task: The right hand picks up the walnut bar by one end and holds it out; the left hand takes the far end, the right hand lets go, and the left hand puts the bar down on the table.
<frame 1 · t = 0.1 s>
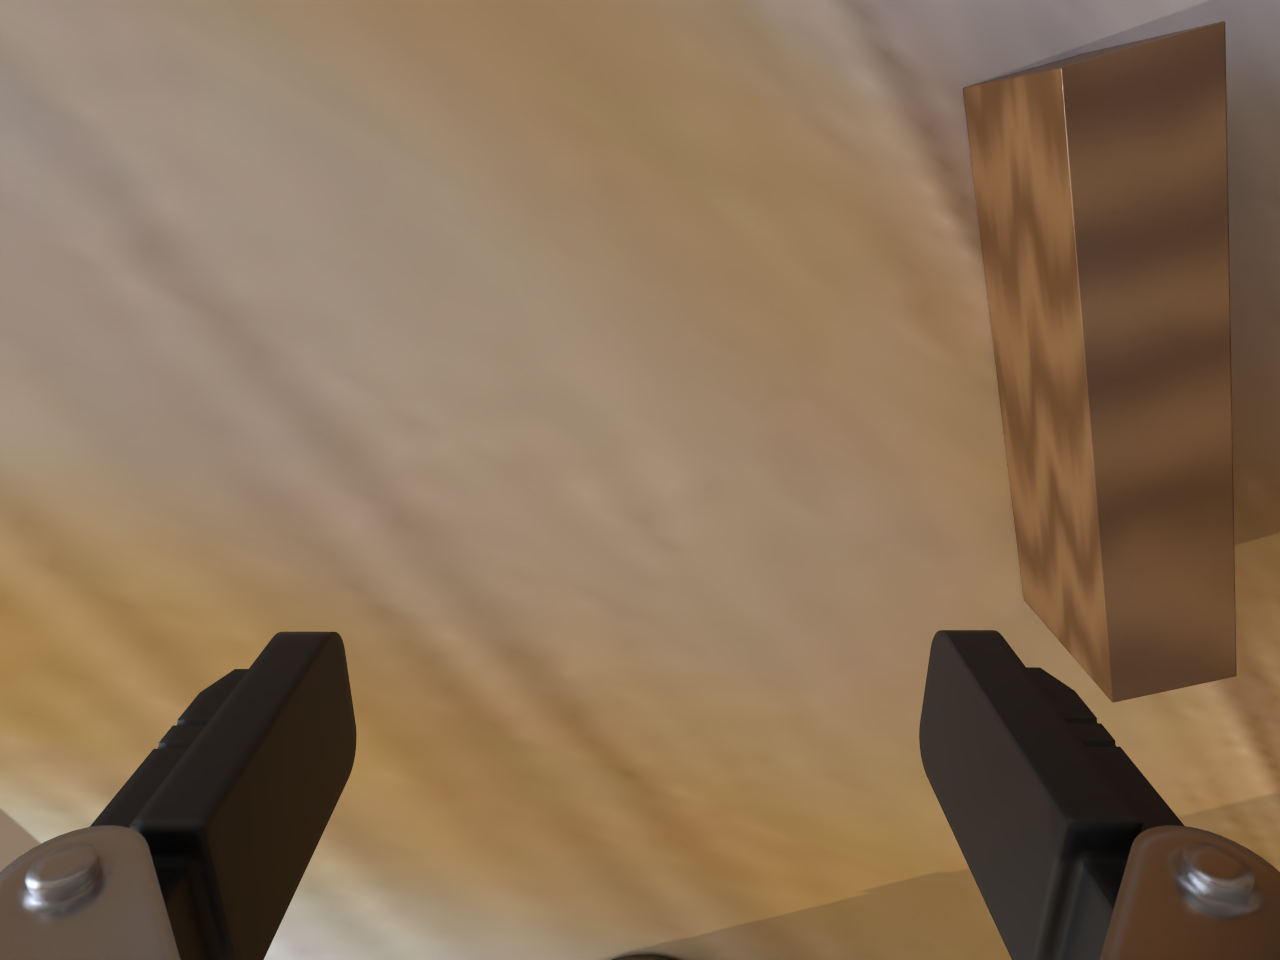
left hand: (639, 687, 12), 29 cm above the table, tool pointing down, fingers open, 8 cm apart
bar: (1051, 358, 40), on the table
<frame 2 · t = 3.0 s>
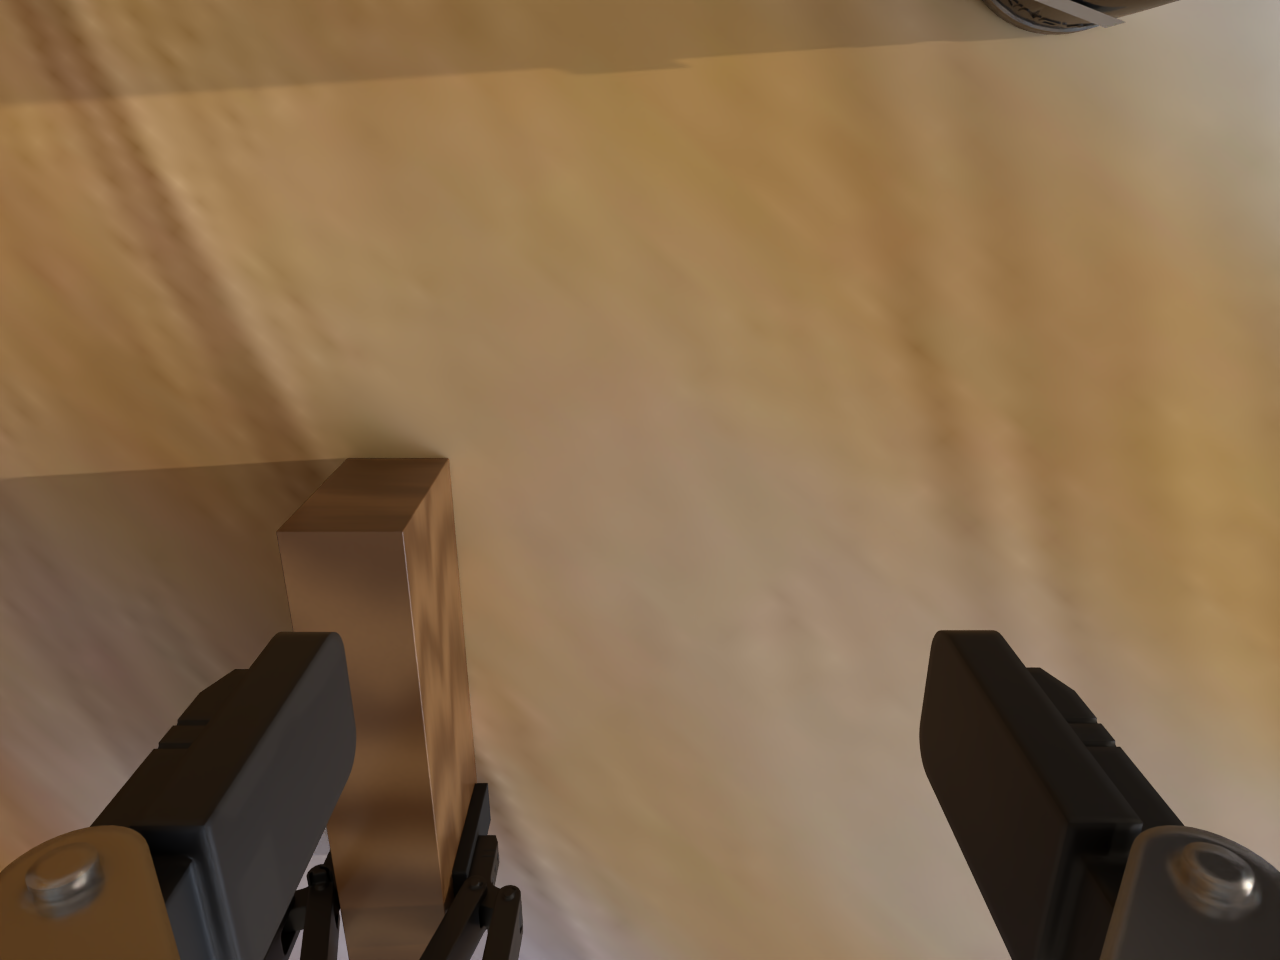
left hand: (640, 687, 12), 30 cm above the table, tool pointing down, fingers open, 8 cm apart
bar: (421, 671, 47), on the table, touching right hand
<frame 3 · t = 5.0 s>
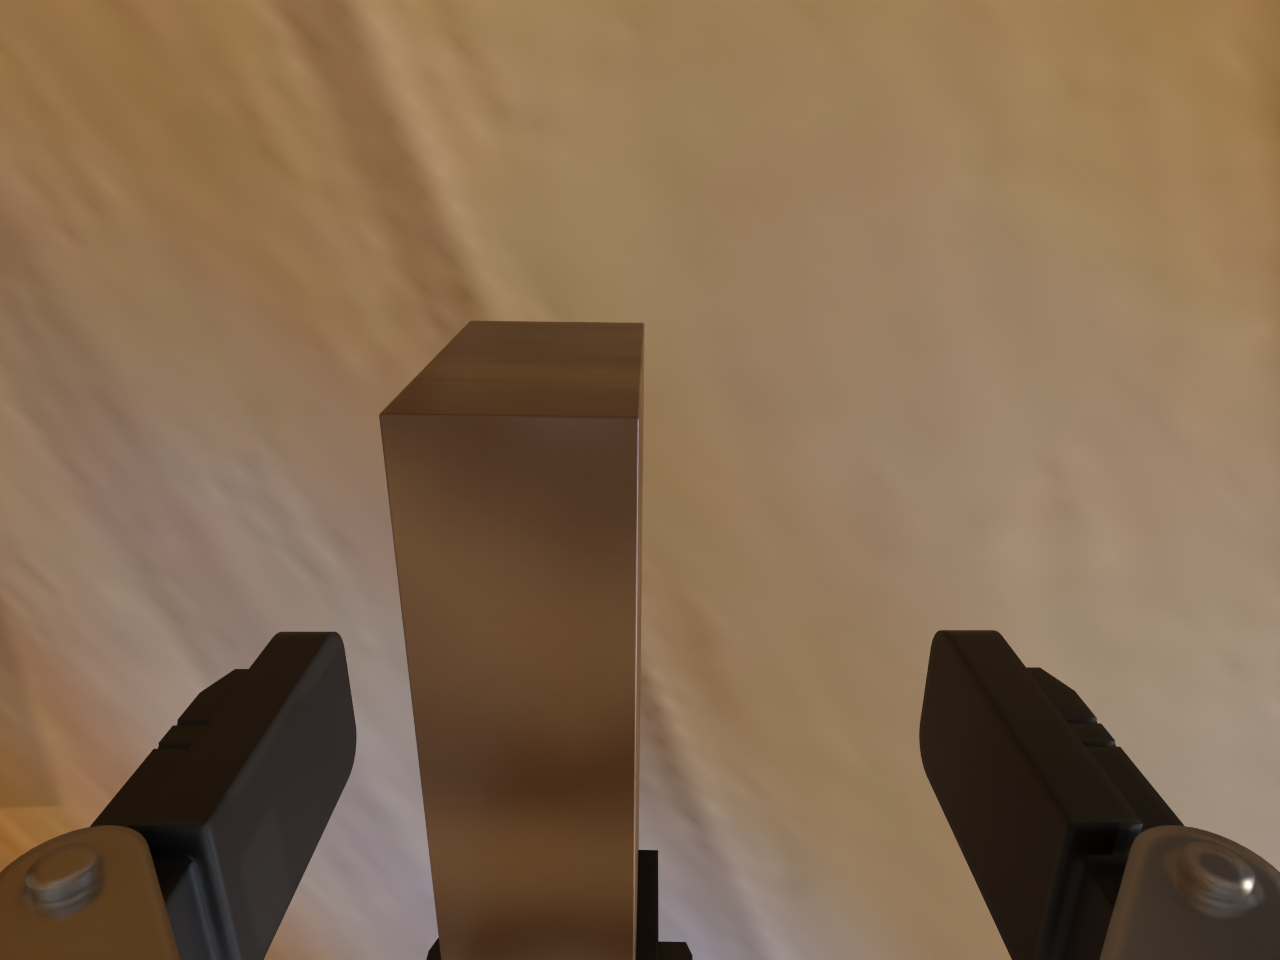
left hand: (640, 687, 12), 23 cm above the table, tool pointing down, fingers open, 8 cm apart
bar: (567, 679, 30), point 8 cm above the table, touching right hand
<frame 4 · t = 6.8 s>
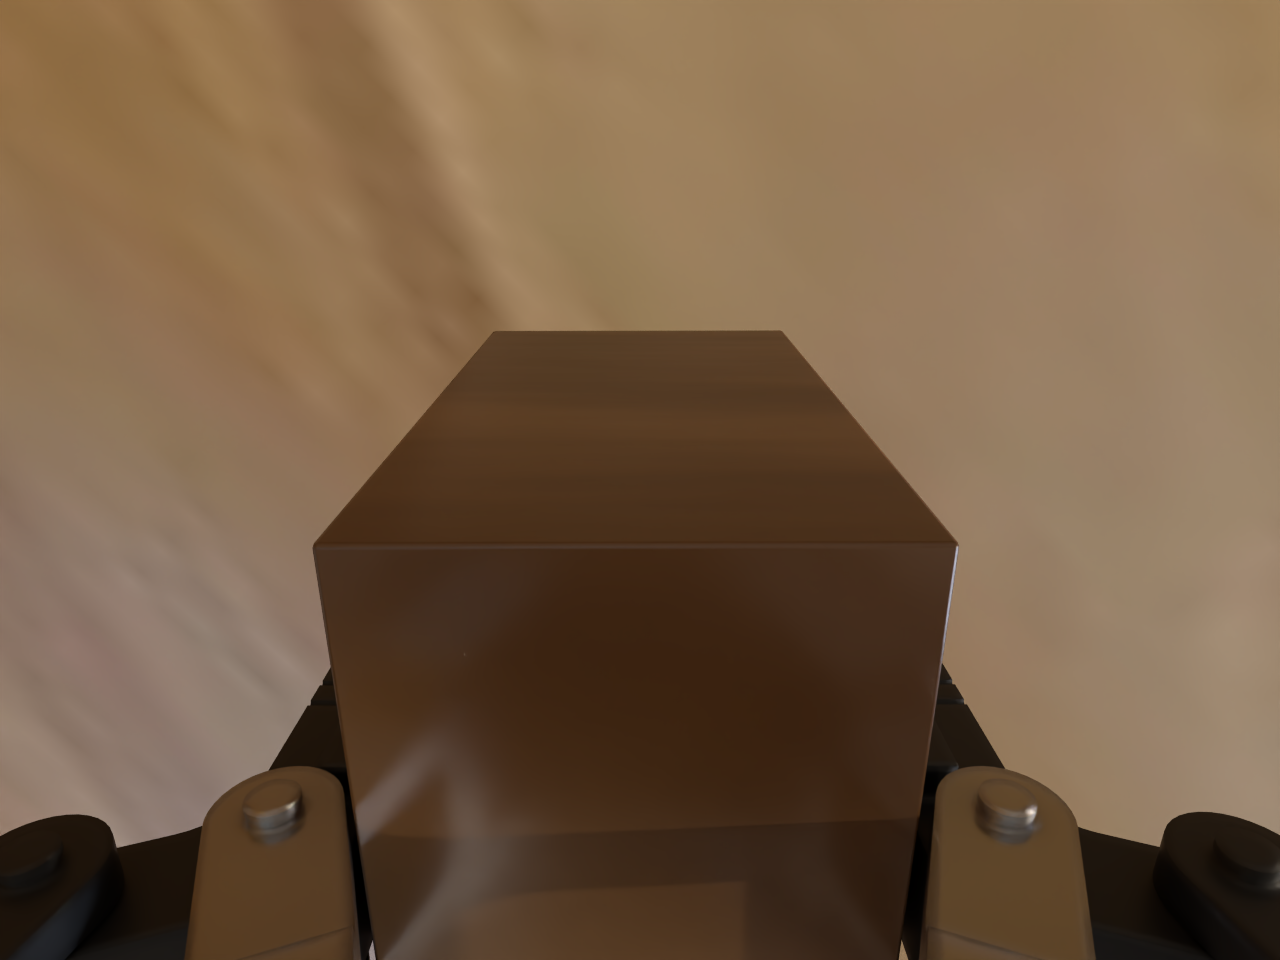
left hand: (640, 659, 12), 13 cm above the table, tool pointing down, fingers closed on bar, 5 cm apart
bar: (639, 876, 19), point 8 cm above the table, touching left hand, right hand
when the right hand's fingers open (9 cm above the table, at t = 7.5 s): bar stays where it is, held by the left hand.
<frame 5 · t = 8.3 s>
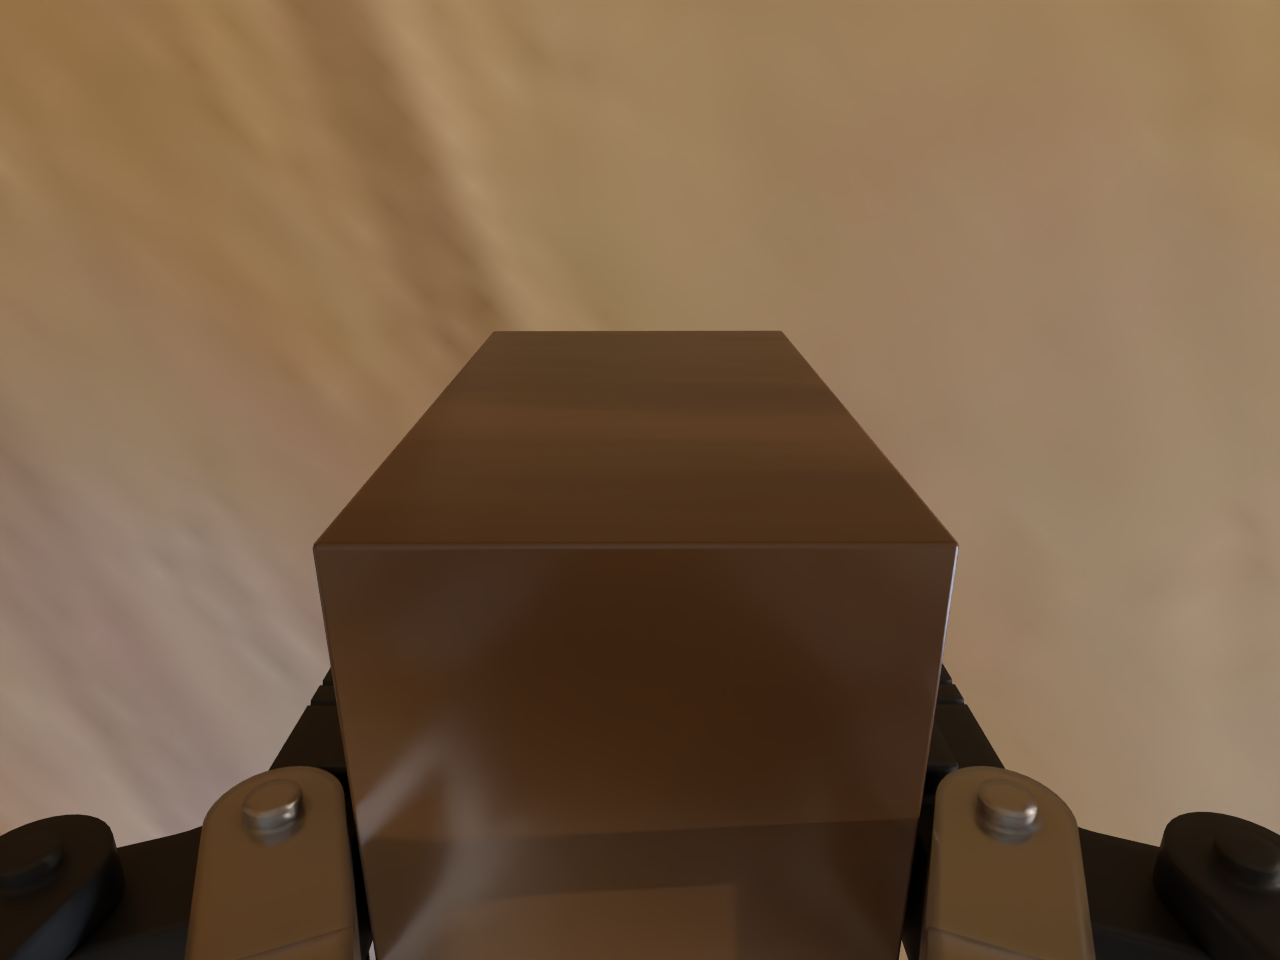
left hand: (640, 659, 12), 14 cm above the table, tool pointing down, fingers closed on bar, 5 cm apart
bar: (639, 876, 19), point 10 cm above the table, touching left hand
when the left hand's fingers open (6 cm above the table, at t = 12.0 s): bar drops 1 cm, on the table.
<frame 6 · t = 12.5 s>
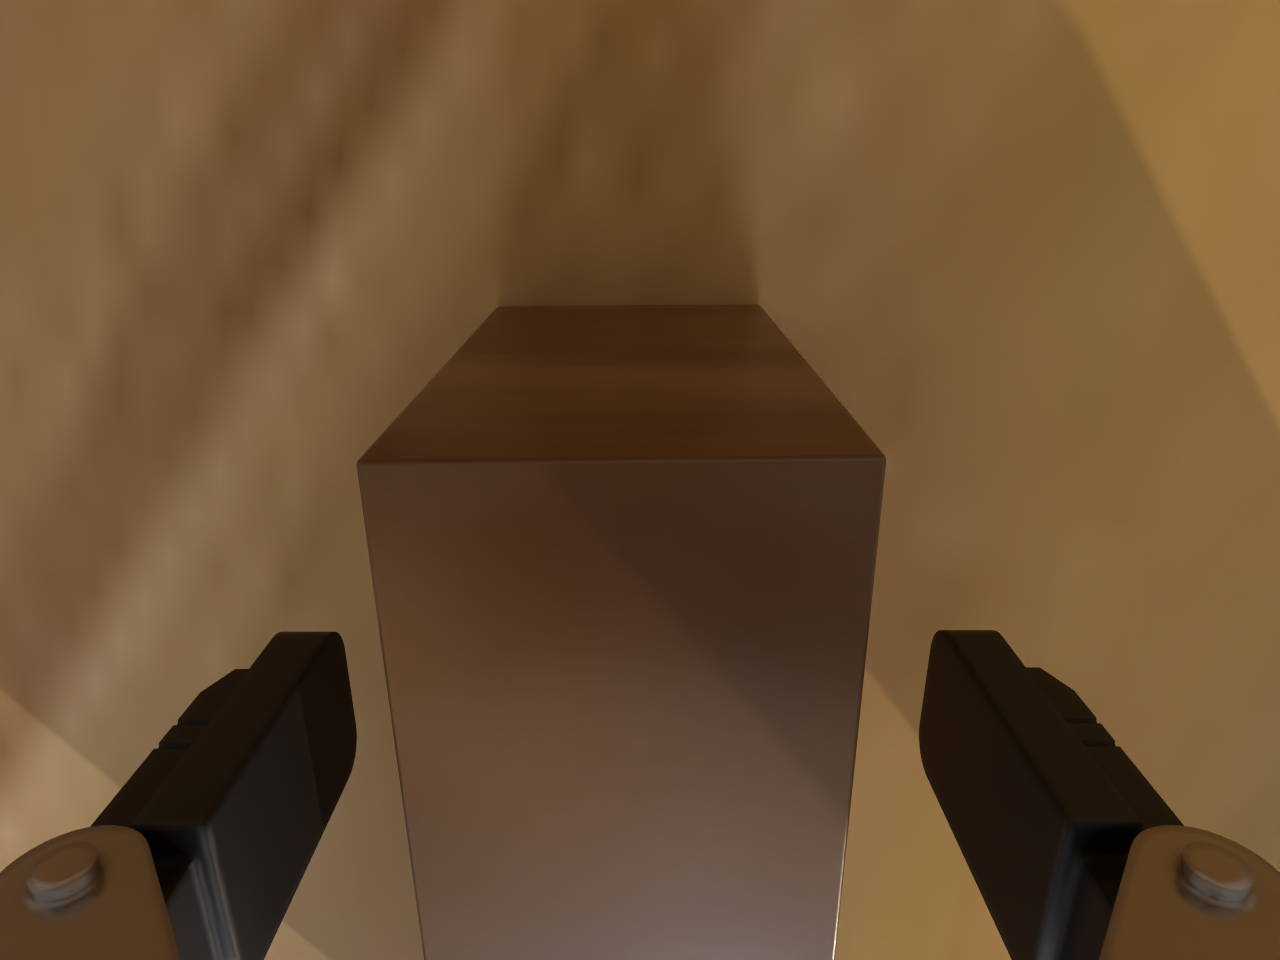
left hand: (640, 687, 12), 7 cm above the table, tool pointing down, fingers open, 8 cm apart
bar: (635, 817, 21), on the table
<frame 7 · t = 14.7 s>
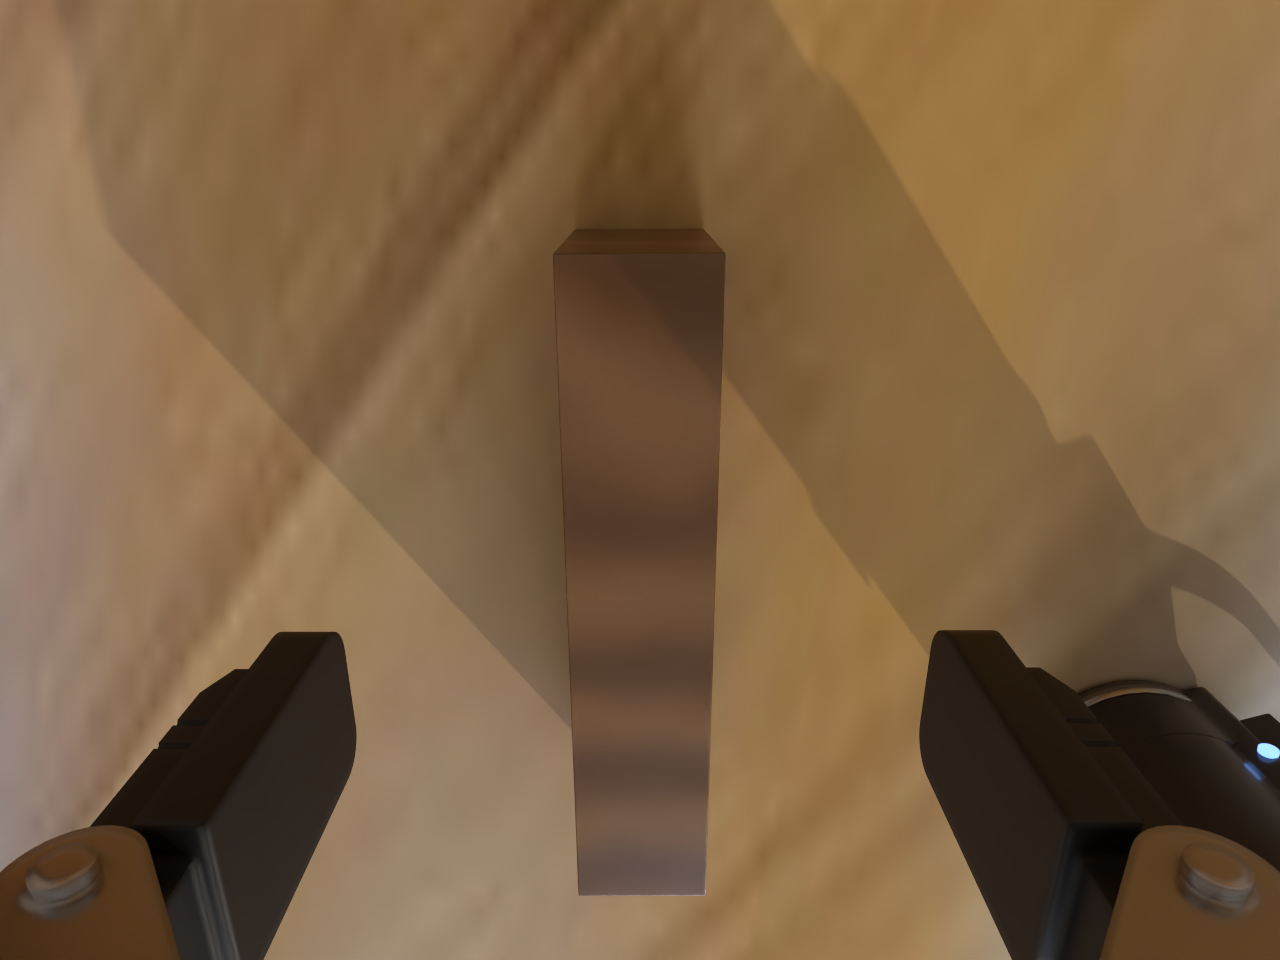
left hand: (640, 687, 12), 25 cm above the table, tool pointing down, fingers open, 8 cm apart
bar: (640, 521, 38), on the table
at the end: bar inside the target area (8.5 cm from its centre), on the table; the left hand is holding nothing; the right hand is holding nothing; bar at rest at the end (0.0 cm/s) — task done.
